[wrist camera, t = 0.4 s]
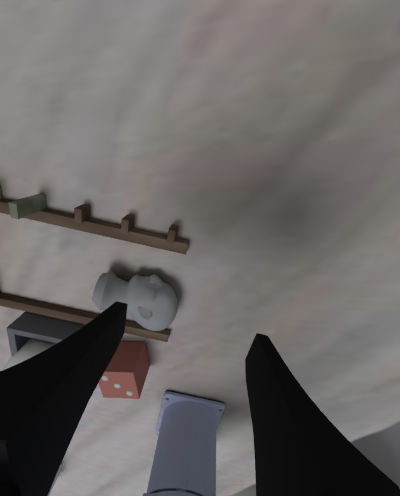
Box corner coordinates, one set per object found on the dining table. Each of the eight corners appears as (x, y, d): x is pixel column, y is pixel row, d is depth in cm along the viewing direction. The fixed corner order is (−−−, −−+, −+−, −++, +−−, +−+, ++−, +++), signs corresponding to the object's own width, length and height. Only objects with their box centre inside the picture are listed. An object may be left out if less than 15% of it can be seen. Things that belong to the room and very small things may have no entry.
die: (149, 365, 28) (139, 399, 25) (118, 365, 29) (103, 397, 25) (144, 341, 27) (132, 373, 23) (111, 340, 27) (94, 372, 23)
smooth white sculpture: (188, 284, 25) (165, 324, 25) (118, 249, 23) (96, 292, 24) (190, 299, 20) (163, 348, 21) (105, 258, 19) (78, 310, 20)
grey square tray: (85, 366, 29) (74, 385, 27) (30, 354, 29) (14, 372, 27) (85, 325, 26) (73, 342, 24) (25, 311, 26) (6, 327, 24)
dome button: (68, 371, 27) (49, 400, 24) (27, 363, 27) (3, 390, 24) (67, 342, 25) (46, 369, 22) (23, 332, 25) (-4, 358, 22)
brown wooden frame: (168, 336, 26) (162, 360, 23) (-7, 298, 26) (-36, 317, 23) (191, 229, 21) (186, 242, 18) (-32, 178, 20) (-74, 183, 17)
